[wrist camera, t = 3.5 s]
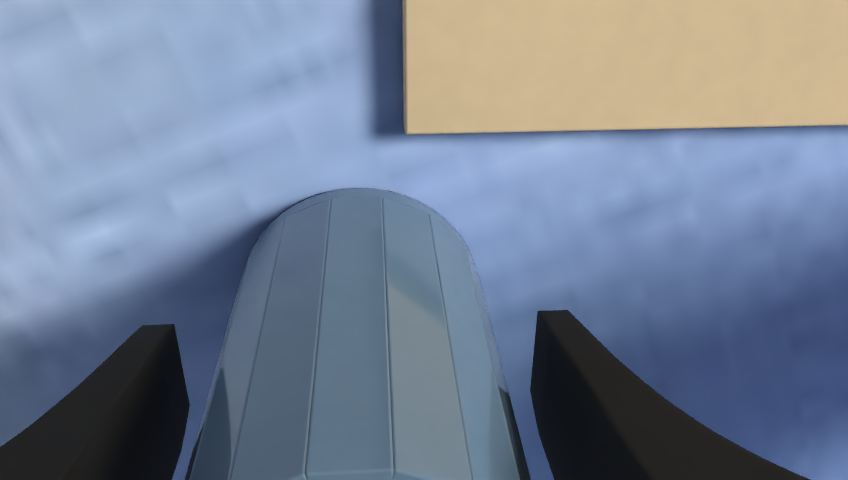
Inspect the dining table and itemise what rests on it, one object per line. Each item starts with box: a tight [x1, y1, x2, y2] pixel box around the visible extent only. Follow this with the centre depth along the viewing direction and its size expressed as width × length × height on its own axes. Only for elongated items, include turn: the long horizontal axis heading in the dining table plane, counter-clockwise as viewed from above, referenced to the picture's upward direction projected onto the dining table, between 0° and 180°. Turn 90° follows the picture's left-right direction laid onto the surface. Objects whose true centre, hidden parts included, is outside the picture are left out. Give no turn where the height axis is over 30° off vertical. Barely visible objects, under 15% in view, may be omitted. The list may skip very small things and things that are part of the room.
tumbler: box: [185, 188, 531, 480], centre depth 14 cm, size 5×5×8 cm
